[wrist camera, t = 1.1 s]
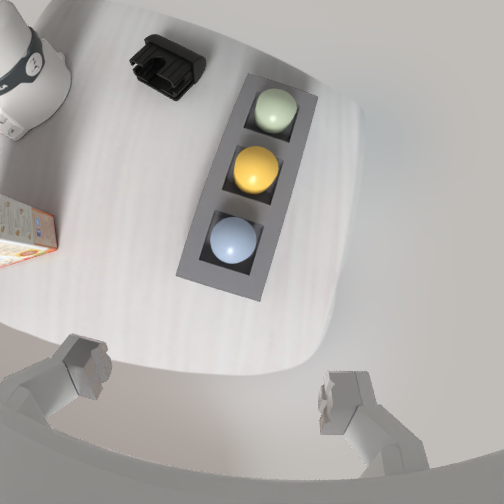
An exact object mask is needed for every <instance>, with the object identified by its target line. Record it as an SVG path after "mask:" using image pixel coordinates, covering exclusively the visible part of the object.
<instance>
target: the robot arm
mask: <svg viewBox="0 0 504 504" xmlns="http://www.w3.org/2000/svg"><path fill="white" fill-rule="evenodd" d="M70 85H71V74H70V71H69V69H68V68H67V67H66V65H65V55H64V54H63V53H62V52H56V51H55V50H54V49H53V48H52V46H51V45H50V44H49V43H48V42H47V41H46V40H45V39H44V38H42V39H40V38H39V36H38V34H37V33H36V32H35V31H34V30H33V29H32V28H31V27H29V26H27V24H26V23H25V21H24V20H23V18H22V16H21V15H20V13H19V12H18V10H17V9H16V7H15V5H14V4H13V3H12V2H10V1H7V0H0V133H2V134H4V135H5V136H7V137H9V138H10V139H12V140H14V141H17V140H19V139H20V138H21V137H22V136H23V135H25V134H26V133H27V132H28V131H29V130H30V129H32V128H34V127H36V126H38V125H40V124H41V123H43V122H44V121H46V120H47V119H48V118H50V117H51V116H52V115H53V114H54V113H55V112H56V111H57V109H58V108H59V107H60V106H61V104H62V103H63V101H64V100H65V98H66V96H67V94H68V92H69V89H70ZM13 131H14V132H13ZM107 350H108V348H107V345H106V343H105V342H103V341H99V340H95V339H92V338H88V337H84V336H80V335H76V334H70V335H69V336H68V337H67V338H66V340H65V341H64V342H63V344H62V345H61V346H60V347H59V349H58V350H57V351H56V353H55V354H54V355H53V357H52V358H46V359H44V360H42V361H40V362H37V363H35V364H33V365H31V366H29V367H27V368H24V369H22V370H20V371H18V372H16V373H13V374H11V375H9V376H7V377H5V378H4V379H3V380H2V381H1V383H0V504H504V450H500V451H497V452H494V453H491V454H488V455H485V456H481V457H477V458H474V459H470V460H467V461H463V462H459V463H455V464H450V465H446V466H442V467H438V468H432V469H430V468H429V465H428V461H427V457H426V454H425V450H424V447H423V443H422V441H421V440H419V439H418V438H417V437H416V436H415V435H414V434H413V433H412V432H411V431H409V430H408V429H407V428H406V427H405V426H404V425H403V424H402V423H401V422H399V421H398V420H397V419H396V418H395V417H394V416H393V415H392V414H391V413H389V412H388V411H387V410H386V409H385V408H384V407H383V406H382V405H377V402H376V398H375V395H374V391H373V387H372V383H371V379H370V376H369V373H368V372H367V371H354V372H353V371H327V372H326V373H325V376H324V385H323V386H321V389H320V392H319V400H318V408H319V411H320V412H321V413H322V415H321V417H320V420H319V421H320V433H321V435H343V436H344V438H345V439H346V440H347V442H348V443H349V444H350V446H351V447H352V448H353V449H354V451H355V452H356V453H357V455H358V456H359V457H360V458H361V460H362V461H363V462H364V464H365V465H366V466H367V467H368V468H367V469H366V470H365V471H364V473H363V474H362V475H361V477H360V478H358V479H342V480H278V479H262V478H250V477H239V476H231V475H223V474H215V473H209V472H203V471H197V470H191V469H185V468H180V467H175V466H170V465H166V464H162V463H157V462H153V461H149V460H145V459H141V458H138V457H133V456H130V455H127V454H123V453H120V452H117V451H113V450H110V449H107V448H104V447H101V446H98V445H95V444H92V443H89V442H87V441H84V440H81V439H78V438H76V437H73V436H71V435H68V434H66V433H63V432H61V431H58V430H56V429H53V428H52V427H51V426H50V424H49V422H48V421H47V419H46V418H48V417H49V416H51V415H52V414H54V413H55V412H57V411H58V410H59V409H61V408H62V407H64V406H65V405H67V404H68V403H70V402H71V401H72V400H74V399H75V398H77V397H78V395H79V396H82V397H86V398H89V399H93V400H97V399H98V397H99V395H100V393H101V391H102V389H103V386H102V383H104V382H106V381H107V380H108V379H109V377H110V374H111V370H112V363H111V359H110V357H109V356H108V355H107V354H106V352H107Z"/></svg>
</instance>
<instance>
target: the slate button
mask: <svg viewBox="0 0 504 504" xmlns="http://www.w3.org/2000/svg"><path fill="white" fill-rule="evenodd" d="M210 242H211V248H212V251H213V253H214V255H215V256H216V257H217V258H218V259H219V260H220V261H222V262H225V263H228V264H235V263H239V262H241V261H243V260H245V259H247V258H248V257H249V256H250V255H251V254H252V253H253V251H254V249H255V246H256V234H255V231H254V229H253V227H252V226H251V225H250V224H249V223H248V222H247V221H246V220H244V219H241V218H238V217H228V218H225V219H223V220H221V221H220V222H218V223H217V224H216V225H215V227H214V228H213V230H212V233H211V238H210Z"/></svg>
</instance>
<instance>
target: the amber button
mask: <svg viewBox="0 0 504 504" xmlns="http://www.w3.org/2000/svg"><path fill="white" fill-rule="evenodd" d="M277 173H278V162H277V159H276V157H275V156H274V155H273V153H272V152H270V151H269V150H268V149H266V148H263V147H259V146H252V147H248V148H246V149H244V150H243V151H241V152H240V153H239V155H238V156H237V158H236V161H235V166H234V171H233V179H234V182H235V184H236V186H237V187H238V188H239V189H240V190H241V191H242V192H244V193H246V194H250V195H257V194H261V193H263V192H265V191H266V190H267V189H268V188H269V187H270V185H271V184H272V182H273V181H274V179H275V178H276V176H277Z"/></svg>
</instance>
